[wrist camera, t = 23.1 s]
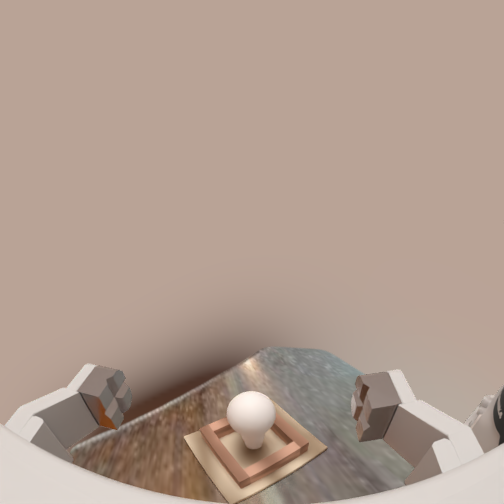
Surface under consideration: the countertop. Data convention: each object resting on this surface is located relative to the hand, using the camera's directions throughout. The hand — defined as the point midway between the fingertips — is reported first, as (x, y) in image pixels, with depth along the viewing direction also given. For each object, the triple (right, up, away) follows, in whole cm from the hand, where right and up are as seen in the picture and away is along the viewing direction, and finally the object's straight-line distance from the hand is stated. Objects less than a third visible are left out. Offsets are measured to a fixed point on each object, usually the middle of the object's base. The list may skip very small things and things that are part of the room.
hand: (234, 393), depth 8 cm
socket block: (+1, -24, +25) cm, 34 cm away
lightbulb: (+1, -23, +25) cm, 34 cm away
